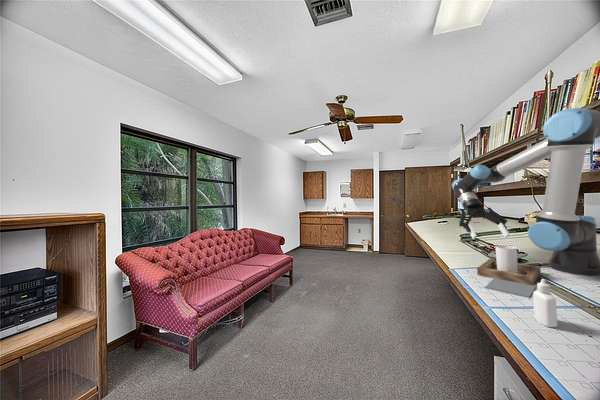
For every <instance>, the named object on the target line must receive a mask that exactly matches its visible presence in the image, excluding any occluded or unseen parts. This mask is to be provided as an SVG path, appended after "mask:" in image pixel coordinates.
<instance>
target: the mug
mask: <svg viewBox="0 0 600 400" xmlns="http://www.w3.org/2000/svg"><path fill="white" fill-rule="evenodd" d="M495 260H497V268H496V270H500V271H506V272H512V273H517V274H519V273H518V272H519V271H518V268H517V263H518V247H517V246H513V245H509V244H508V245H506V244H505V245H504V244H499V245H495Z"/></svg>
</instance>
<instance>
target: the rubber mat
mask: <svg viewBox="0 0 600 400" xmlns="http://www.w3.org/2000/svg"><path fill="white" fill-rule="evenodd" d="M484 288H485V289H488V290H494V291H497V292H501V293H505V294H511V295H515V296H520V297H524V298H528V299H530V298H531V296H532V295H533V292H534V291H536V288H537V285H528V284H522V283H517V282H512V281H507V280H502V279H497V278H492V280H491V281H490V282H488V283H487V284H486V285H485V286H484Z"/></svg>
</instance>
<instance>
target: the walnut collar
mask: <svg viewBox="0 0 600 400" xmlns="http://www.w3.org/2000/svg"><path fill="white" fill-rule="evenodd" d="M494 268H496V269H494ZM517 268H518V272H521V273H522V274H521V273H518V272H517V273H518V274H517V273H512V272H506V271H500V270H497V260H496V259H491V258H489V259H487V260H486V261H485V262H484V263H482V264H481V265H479V266H478V267H476V271H477V276H482V277H487V278H490V279H491V278H492V279H494V278H497V279H502V280H507V281H512V282H517V283H522V284H528V285H533V286H535V285H534V284H535V283H536V282H537V280H538V278H539V277H540V276H541V274H542V273H541V271H542V269H541V268H542V267H541V266H539V265H533V264H526V263H525V264H524V263H519V262H517ZM523 273H525V274H523Z"/></svg>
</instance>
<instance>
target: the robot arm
mask: <svg viewBox="0 0 600 400" xmlns="http://www.w3.org/2000/svg"><path fill="white" fill-rule="evenodd" d="M542 133H543V136H544V137H545V139H543V140H542V141H539V142H538V143H535V144H534V145H532V146H530V147H528V148H525V149H524V150H522V151H521V152H519V153H517V154H515V155H513V156H510V158H507V159H505V160H503V161H501V162H500V163H497V165H494V166H493V167H490V168H489V167H488V166H486V165H485V164H477V165H475V166H474V167H472V169H470V171H469V172H468V173H467V174H466V175H465V176H464V177H463V178H462V177H461V178H458V179H456V180H453V182H452V183H451V188H452V190H453V192H454V194H455V195H456V197H457V198H458V201H459V202H460V204H461V205H462V207H463V208H461V209H460V211H459V217H460V218H459V227H460V228H461V227H463V229H465V230H466V232H467V233H469V234H470V237H471V239H472V240H475V239H476V237H477V233H476V232H475V230H474V227H473V226H472V224H469V223H470V222H471V220H472V218H474V219H476V218H479V219H481V218H482V219H486V220H488V221H490V222H492V223H493V224H495V225H497V228H498V229H499V231H500V232H501V235H503V237H504V238H505V239H506V238H508V237H509V236H510V233H509V231H508V227H507V226H506V224H507V222H508V219H506V218H504V217H503V216H502V215H500V214H499V213H497V212H496V211H494V210H493V209H492V208H491V207H487V208H484V207H483V205H482V203H481V201H480V200H479V198H478V197H477V195H476V193H475V191H474V190H475V189H476V188H477V187H479V185H481V184H488V183H489V184H490V183H499V182H502V181H504V180H505V179H506V178H507V177H510V176H511V175H513V174H516V173H518V172H521V171H522V170H524V169H527V168H528V167H530V166H533V165H534V164H537V163H539V162H541V161H543V160H546V159H548V158H550V160H549V166H548V173H547V179H546V180H547V181H546V186H545V193H544V197H543V198H544V199H543V206H542V210H541V211H539V212H538V213H536V217H535V222H534V223H533V224H532V225H530V226H529V227H528V231H527V234H528V235H527V236H528V238H529V240H530V242H532V244H534V246H536V247H538V248H539V249H542V250H545V251H553V252H552V254H551V257H550V259H549V261H548V263H549V267H550V268H551V269H553V270H556V271H559V272H560V271H561V272H563V273H568V274H569V273H570V274H575V275H585V276H600V256H599V254H598V250H597V249H598V247H597V246H598V245H597V243H598V242H597V222H596V219H595V217H593V216H591V215H576V208H577V203H578V197H579V192H580V186H581V185H580V184H581V179H582V174H583V169H584V162H585V158H586V151H588V149H590V148H592V147H593V146H594V145H595V140H597V139H598V138H600V109H593V108H592V109H588V108H583V107H574V108H573V107H572V108H565V109H562V110H560V111H558V112H555V113H554V114H552V115H551V116H550V117H549V118H547V120H546V121H545V122H544V125H543V127H542ZM466 214H467V215H469V216H468V217H467V219H466V221H465V215H466Z"/></svg>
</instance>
